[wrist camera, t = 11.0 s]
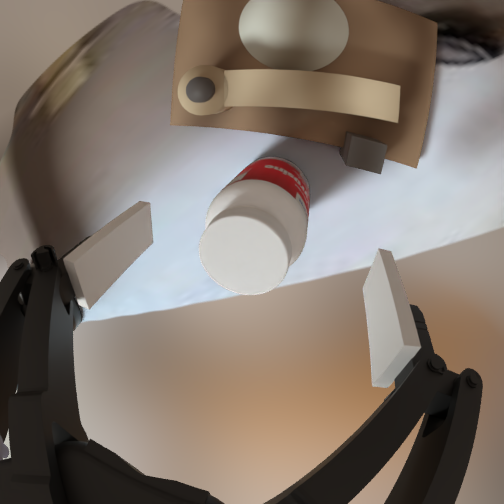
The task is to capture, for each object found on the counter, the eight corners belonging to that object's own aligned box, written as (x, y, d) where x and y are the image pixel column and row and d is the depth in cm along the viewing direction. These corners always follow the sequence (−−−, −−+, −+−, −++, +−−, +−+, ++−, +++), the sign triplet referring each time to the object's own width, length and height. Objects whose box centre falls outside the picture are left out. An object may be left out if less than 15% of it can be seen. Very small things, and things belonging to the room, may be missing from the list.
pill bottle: (324, 198, 22) (329, 275, 13) (269, 235, 25) (238, 320, 16) (278, 140, 20) (247, 173, 11) (224, 183, 23) (163, 244, 14)
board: (178, 130, 22) (149, 139, 18) (192, -7, 14) (167, -24, 10) (408, 171, 19) (428, 189, 15) (430, 26, 12) (454, 14, 8)
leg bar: (195, 114, 19) (174, 117, 16) (195, 71, 17) (173, 67, 14) (385, 127, 16) (399, 132, 13) (388, 81, 14) (403, 77, 11)
